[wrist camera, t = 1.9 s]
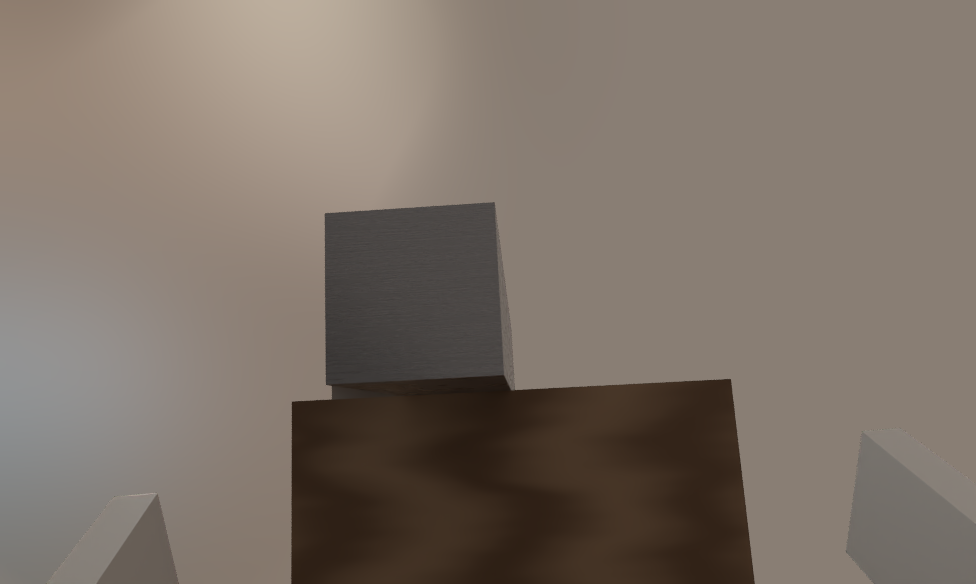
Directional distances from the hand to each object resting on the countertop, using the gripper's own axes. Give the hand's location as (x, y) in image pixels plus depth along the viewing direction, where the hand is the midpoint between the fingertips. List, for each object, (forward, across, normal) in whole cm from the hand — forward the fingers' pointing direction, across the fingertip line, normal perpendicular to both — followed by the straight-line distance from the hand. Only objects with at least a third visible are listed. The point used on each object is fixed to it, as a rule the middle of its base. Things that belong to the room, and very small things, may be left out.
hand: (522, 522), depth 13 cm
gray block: (+14, -1, -4) cm, 14 cm away
